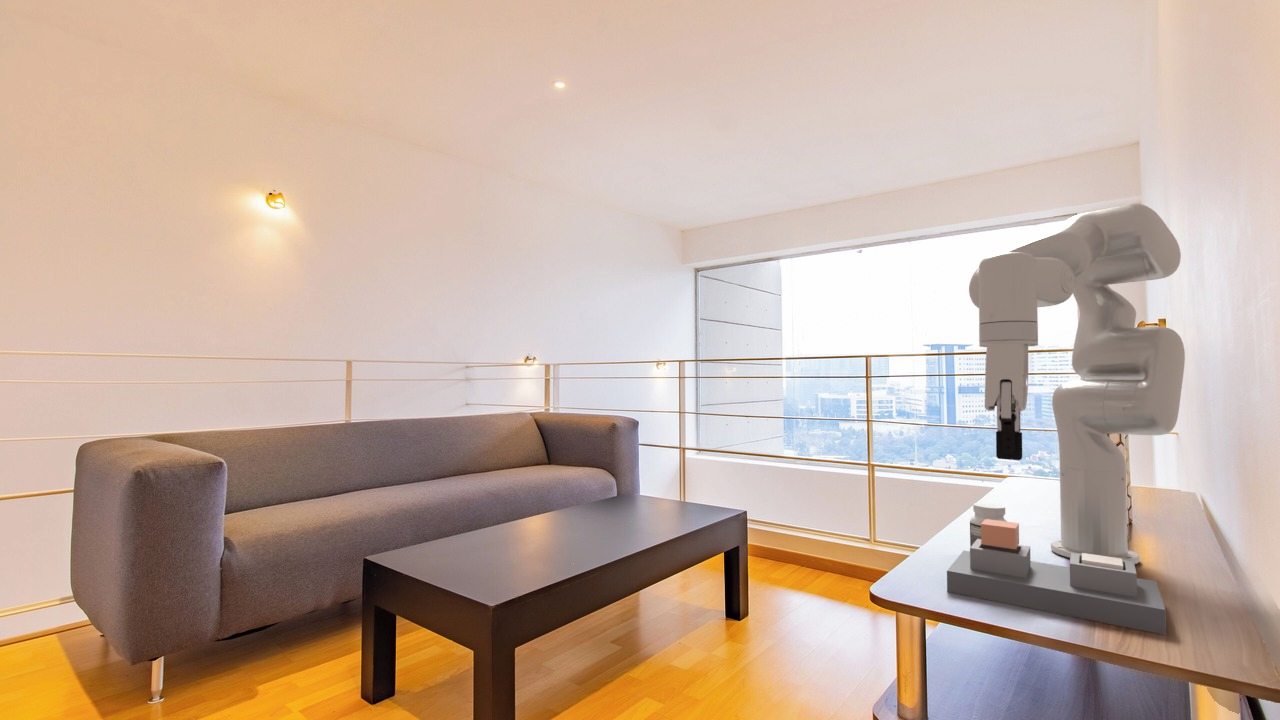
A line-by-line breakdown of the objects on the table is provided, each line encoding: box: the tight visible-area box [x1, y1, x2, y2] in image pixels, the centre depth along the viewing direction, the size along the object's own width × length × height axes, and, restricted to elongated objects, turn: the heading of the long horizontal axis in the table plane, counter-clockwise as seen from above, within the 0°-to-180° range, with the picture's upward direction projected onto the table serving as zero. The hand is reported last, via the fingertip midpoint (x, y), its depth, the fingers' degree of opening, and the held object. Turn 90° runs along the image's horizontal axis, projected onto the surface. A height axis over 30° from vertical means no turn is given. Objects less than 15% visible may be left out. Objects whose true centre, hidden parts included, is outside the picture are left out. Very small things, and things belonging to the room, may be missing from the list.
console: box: [946, 539, 1167, 636], centre depth 85 cm, size 14×24×6 cm, turn 53°
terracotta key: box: [981, 519, 1020, 549], centre depth 89 cm, size 4×4×3 cm
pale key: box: [1082, 553, 1123, 570], centre depth 81 cm, size 4×4×3 cm
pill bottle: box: [969, 502, 1008, 548], centre depth 101 cm, size 6×6×10 cm
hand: (1009, 458), depth 88 cm, fingers closed
